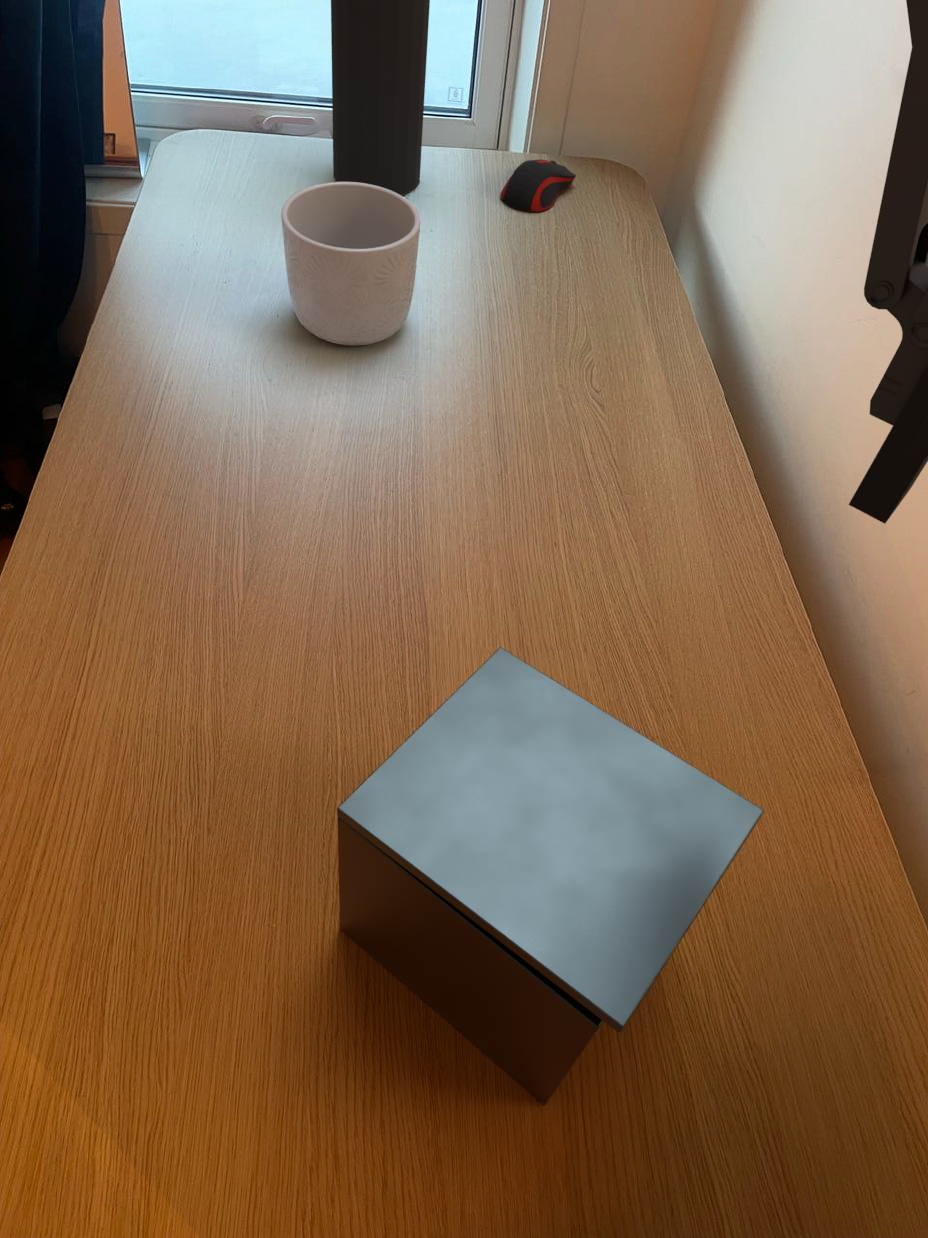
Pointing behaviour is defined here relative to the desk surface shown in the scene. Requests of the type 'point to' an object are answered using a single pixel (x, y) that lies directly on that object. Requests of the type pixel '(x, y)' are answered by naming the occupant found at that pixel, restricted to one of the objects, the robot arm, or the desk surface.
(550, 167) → the computer mouse
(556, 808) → the bin lid
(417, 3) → the vase
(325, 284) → the planter
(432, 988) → the trash bin
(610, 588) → the desk surface
